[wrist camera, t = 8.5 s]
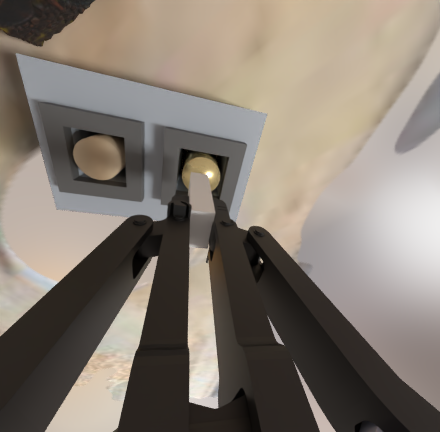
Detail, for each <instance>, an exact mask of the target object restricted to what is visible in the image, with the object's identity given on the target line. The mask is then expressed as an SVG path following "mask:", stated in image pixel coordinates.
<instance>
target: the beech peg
mask: <svg viewBox="0 0 440 432" xmlns="http://www.w3.org/2000/svg"><path fill="white" fill-rule="evenodd" d="M73 156H74V160H75V162H76V164H77V166H78V167H79V168H80V170H81V171H82V172H84V173H85V174H86V175H88V176H89V177H91V178H94V179H97V180H108V179H111V178H113V177H114V176H116V175H117V174H118V173H119V172H120V171H121V170H122V169H123V168H124V167H125V166H126V163H125V142H124V137H118V136H113V135H108V134H102V133H99V134H96V135H93V136H90V137H87V138H84V139H82V140H80V141H78V142H77V143H76V145H75V147H74V150H73Z"/></svg>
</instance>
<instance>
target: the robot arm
mask: <svg viewBox="0 0 440 432" xmlns="http://www.w3.org/2000/svg"><path fill="white" fill-rule="evenodd" d="M208 244H209V251H208V256H207V260H206V263H208V260H209V270H210V281H211V292H212V303H213V313H214V324H215V335H216V346H217V357H218V368H219V390H218V407H219V408H217V409H213V408H209V407H205V406H201V405H197V404H194V403H190V402H189V348H188V291H189V247H196V248H208ZM155 256H158V260H157V266H156V270H155V274H154V279H153V284H152V288H151V293H150V298H149V302H148V307H147V312H146V316H145V321H144V325H143V330H142V335H141V339H140V344H139V347H138V349H137V351H136V353H135V356H134V360H133V364H132V368H131V372H130V377H129V381H128V386H127V390H126V395H125V399H124V404H123V408H122V412H121V417H120V421H119V426H118V428H117V429H116V430H115V431H113V432H320V431H319V428H318V425H317V423H316V420H315V418H314V415H313V412H312V410H311V407H310V404H309V402H308V399H307V396H306V394H305V391H304V388H303V386H302V383H301V380H300V378H299V375H298V372H297V370H296V367H295V365H294V363H295V364H296V366H297V368H298V369H299V371H300V373H301V375H302V377H303V378H304V380H305V382H306V384H307V385H308V387H309V389H310V391H311V392H312V394H313V396H314V398H315V399H316V401H317V403H318V405H319V406H320V408H321V409H322V411H323V413H324V414H325V416H326V417H327V419H328V421H329V422H330V424H331V425H332V427H333V428H334V429H335V431H336V432H440V412H439V411H438V410H437V409H436V408H435V407H433V406H432V405H431V404H430V403H428V402H427V401H426V400H425V399H424V398H423V397H421V396H420V395H419V394H418V393H417V392H415V391H414V390H413V389H412V388H411V387H409V386H408V385H407V384H406V383H405V382H403V381H402V380H401V379H400V378H399V377H398V376H397V375H396V374H395V373H394V371H393V370H392V369H391V368H390V367H389V366H388V365H387V364H386V362H385V361H384V360H383V359H382V358H381V357H380V356H379V355H378V353H377V352H376V351H375V350H374V349H373V348H372V347H371V346H370V345H369V344H368V342H367V341H366V340H365V339H364V338H363V337H362V336H361V335H360V333H359V332H358V331H357V330H356V329H355V328H354V327H353V326H352V325H351V323H350V322H349V321H348V320H347V319H346V318H345V317H344V316H343V315H342V313H341V312H340V311H339V310H338V309H337V308H336V307H335V306H334V305H333V303H331V301H330V300H329V299H328V298H327V297H326V296H325V295H324V293H323V292H322V291H321V290H320V289H319V288H318V287H317V286H316V285H315V283H314V282H313V281H312V280H311V279H310V278H309V277H308V276H307V274H306V273H305V272H304V271H303V270H302V269H301V268H300V267H299V266H298V264H297V263H296V262H295V261H294V260H293V259H292V258H291V257H290V256H289V254H288V253H287V252H286V251H285V250H284V249H283V248H282V247H281V246H280V244H279V243H278V242H277V241H276V240H275V239H274V238H273V237H272V236H271V234H270V233H269V232H268V231H267V230H265V229H264V228H262V227H259V226H252V227H250V228H249V230H248V231H246V230H243V229H240V228H238V227H237V225H236V223H235V221H233V220H232V219H230V216H229V212H228V209H227V206H226V203H225V202H224V201H223V200H217V199H213V198H212V193H211V188H210V182H209V177H208V175H207V174H201V173H195V172H191V175H190V182H189V190H188V196H183V195H174V196H173V197H172V200H171V201H170V202H169V203H168V208H167V218H166V219H164V220H161V221H154V222H153V220H152V218H150V217H149V216H146V215H134V216H131V217H129V218H128V219H126V221H124V222H123V223H122V224H121V225H120V226H119V227H118V228H117V229H116V230H115V231H114V232H112V233H111V234H110V236H108V237H107V238H106V239H105V240H104V241H103V242H102V243H101V244H100V245H98V246H97V247H96V248H95V249H94V250H93V251H92V252H91V253H90V254H89V255H88V256H87V257H86V258H85V259H83V260H82V261H81V262H80V263H79V264H78V265H77V266H76V267H75V268H74V269H73V270H72V271H70V272H69V273H68V274H67V275H66V276H65V277H64V278H63V279H62V280H61V281H60V282H59V283H58V284H56V285H55V286H54V287H53V288H52V289H51V290H50V291H49V292H48V293H47V294H46V295H45V296H44V297H42V298H41V299H40V300H39V301H38V302H37V303H36V304H35V305H34V306H33V307H32V308H31V309H30V310H28V311H27V312H26V313H25V314H24V315H23V316H22V317H21V318H20V319H19V320H18V321H17V322H16V323H14V324H13V325H12V326H11V327H10V328H9V329H8V330H7V331H6V332H5V333H4V334H3V335H2V336H0V432H45V430H46V429H47V427H48V425H49V424H50V422H51V421H52V419H53V417H54V416H55V414H56V412H57V411H58V409H59V408H60V406H61V404H62V403H63V401H64V400H65V398H66V396H67V395H68V393H69V391H70V390H71V388H72V387H73V385H74V384H75V382H76V380H77V379H78V377H79V375H80V374H81V372H82V371H83V369H84V367H85V366H86V364H87V363H88V361H89V359H90V358H91V356H92V355H93V353H94V351H95V350H96V348H97V346H98V345H99V343H100V342H101V340H102V338H103V337H104V335H105V334H106V332H107V330H108V329H109V327H110V326H111V324H112V322H113V321H114V319H115V317H116V316H117V314H118V313H119V311H120V309H121V308H122V306H123V305H124V303H125V301H126V300H127V298H128V297H129V295H130V293H131V292H132V290H133V288H134V287H135V285H136V284H137V282H138V280H139V279H140V277H141V275H142V274H143V272H144V271H145V269H146V268H147V266H148V264H149V263H150V261H151V259H152V257H155ZM260 258H261V259H262V260H263V263H261V261H260ZM267 315H268V316H267ZM268 317H269V319H270V321H271V322H272V324H273V326H274V328H275V329H276V331H277V333H278V335H279V336H280V338H281V340H282V342H283V343H284V345H285V346H284V345H282V344H279V343H278V342H277V341H276V339H275V337H274V334H273V331H272V328H271V325H270V322H269V320H268ZM293 361H294V362H293Z"/></svg>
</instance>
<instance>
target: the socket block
mask: <svg viewBox="0 0 440 432" xmlns="http://www.w3.org/2000/svg"><path fill="white" fill-rule="evenodd" d="M15 54H16V57H17V61H18V65H19V69H20V73H21V76H22V80H23V84H24V88H25V91H26V95H27V99H28V103H29V107H30V110H31V114H32V118H33V122H34V126H35V129H36V133H37V137H38V141H39V144H40V148H41V152H42V156H43V160H44V163H45V167H46V171H47V174H48V178H49V182H50V186H51V190H52V194H53V198H54V201H55V205H56V209H57V210H66V211H75V212H84V213H93V214H102V215H112V216H121V217H131V216H134V215H146V216H149V217H150V218H152V220H156V221H161V220H164V219H166V218H167V208H168V203H169V202H170V201H171V200H172V197H173V196H174V195H183V196H188V190H189V189H187V188H186V186H185V185H184V183H183V180H182V173H180V171H181V161H182V151H183V149H188V150H193V151H199V152H204V153H210V154H215V155H219V159H218V164H217V165H218V168H219V171H220V181H219V184H218V186H217V187H216V188H215V189H214V190H213V191H211V193H212V198H213V199H217V200H223V201H224V202H225V203H226V206H227V209H228V212H229V216H230V219H232V220H233V221H235V223H236V219H237V216H238V212H239V209H240V206H241V202H242V199H243V195H244V192H245V189H246V185H247V182H248V178H249V175H250V171H251V168H252V165H253V161H254V158H255V154H256V151H257V148H258V144H259V141H260V137H261V134H262V130H263V127H264V124H265V120H266V117H267V114H266V113H262V112H257V111H253V110H249V109H245V108H241V107H237V106H233V105H228V104H224V103H220V102H216V101H212V100H208V99H204V98H199V97H195V96H191V95H187V94H183V93H179V92H175V91H170V90H166V89H162V88H158V87H154V86H150V85H146V84H142V83H137V82H133V81H129V80H125V79H121V78H117V77H113V76H108V75H104V74H100V73H96V72H92V71H88V70H84V69H79V68H75V67H71V66H67V65H63V64H59V63H55V62H50V61H46V60H42V59H38V58H34V57H30V56H26V55H22V54H17V53H15ZM99 133H102V134H108V135H113V136H118V137H124V142H125V163H126V166H125V167H124V168H123V169H122V170H121V171H120V172H119V173H118V174H117V175H116V176H114V177H113V178H111V179H108V180H97V179H94V178H91V177H89V176H88V175H86V174H85V173H84V172H82V171H81V170H80V168H79V167H78V166H77V164H76V162H75V160H74V156H73V150H74V147H75V145H76V143H77V142H78V141H80V140H82V139H84V138H87V137H90V136H93V135H96V134H99Z"/></svg>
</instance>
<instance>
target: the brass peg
mask: <svg viewBox="0 0 440 432" xmlns="http://www.w3.org/2000/svg"><path fill="white" fill-rule="evenodd" d="M191 172H195V173H201V174H207V175H208V177H209V182H210V188H211V191H213V190H214V189H215V188H216V187H217V186H218V184H219V181H220V171H219V168H218V165H217V162H216V159H215V155H214V154H210V153H204V152H199V151H193V150H188V151H187V153H186V157H185V162H184V167H183V172H182V180H183V183H184V185H185V186H186V188H187V189H189V182H190V175H191Z"/></svg>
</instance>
